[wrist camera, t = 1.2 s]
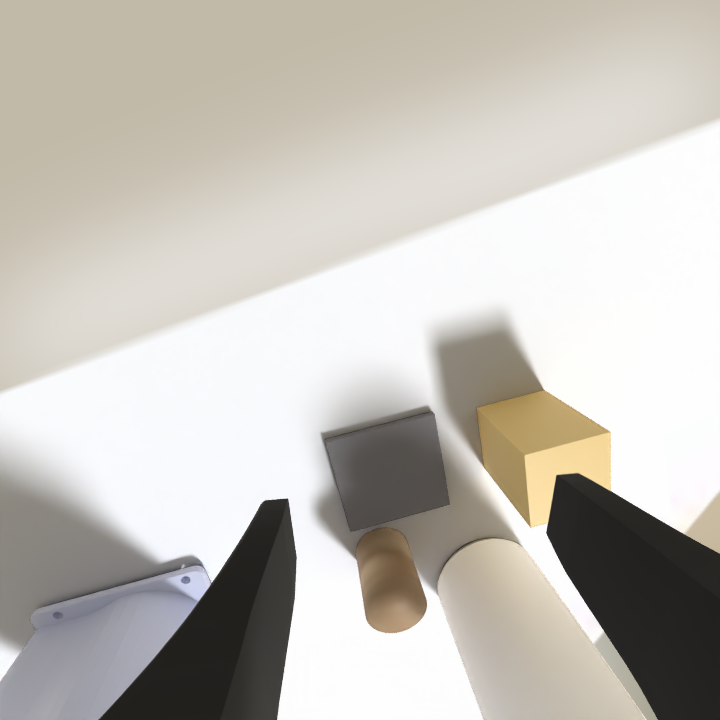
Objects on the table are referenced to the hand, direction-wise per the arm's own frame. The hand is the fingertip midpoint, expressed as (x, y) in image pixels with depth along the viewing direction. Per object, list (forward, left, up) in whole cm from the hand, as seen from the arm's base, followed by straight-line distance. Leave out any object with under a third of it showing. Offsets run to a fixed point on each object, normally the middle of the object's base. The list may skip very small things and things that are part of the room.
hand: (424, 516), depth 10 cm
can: (+5, -15, -10) cm, 19 cm away
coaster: (0, -6, -10) cm, 12 cm away
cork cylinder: (-1, -11, -10) cm, 15 cm away
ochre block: (+8, -5, -10) cm, 14 cm away
